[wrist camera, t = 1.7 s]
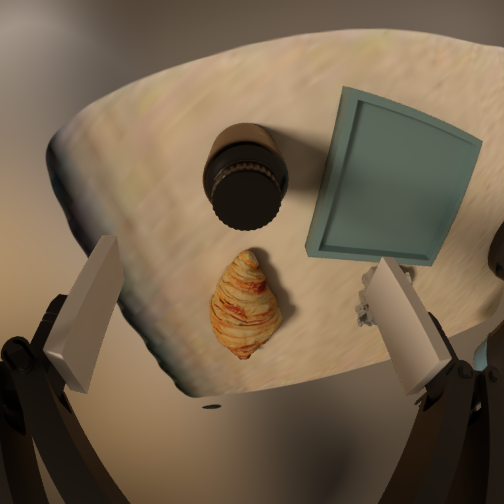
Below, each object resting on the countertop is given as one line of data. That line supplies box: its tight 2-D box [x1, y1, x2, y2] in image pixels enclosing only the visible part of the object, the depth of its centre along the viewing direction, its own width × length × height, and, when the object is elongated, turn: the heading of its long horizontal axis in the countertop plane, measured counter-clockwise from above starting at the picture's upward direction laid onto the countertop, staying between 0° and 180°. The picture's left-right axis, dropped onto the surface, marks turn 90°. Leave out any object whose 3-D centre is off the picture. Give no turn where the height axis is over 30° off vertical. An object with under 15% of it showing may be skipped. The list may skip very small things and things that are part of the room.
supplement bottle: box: [203, 123, 289, 231], centre depth 24 cm, size 7×7×12 cm
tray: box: [305, 86, 483, 266], centre depth 31 cm, size 20×20×2 cm
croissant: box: [210, 250, 283, 360], centre depth 40 cm, size 21×10×8 cm, turn 179°
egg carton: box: [355, 267, 412, 327], centre depth 41 cm, size 11×8×4 cm
